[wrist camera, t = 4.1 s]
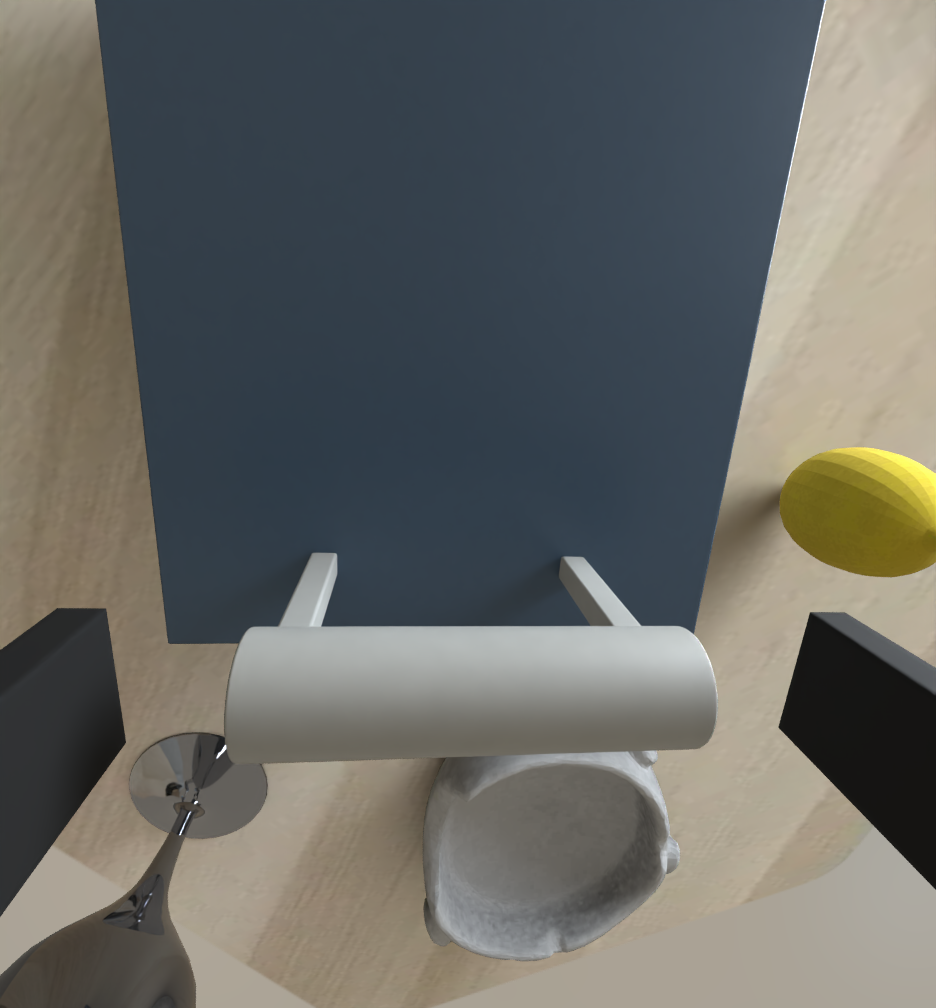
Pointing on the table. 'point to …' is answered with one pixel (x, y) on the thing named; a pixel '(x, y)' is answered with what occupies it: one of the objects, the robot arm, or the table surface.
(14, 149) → the table surface
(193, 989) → the wine glass
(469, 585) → the lid
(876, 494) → the lemon
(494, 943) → the dish
